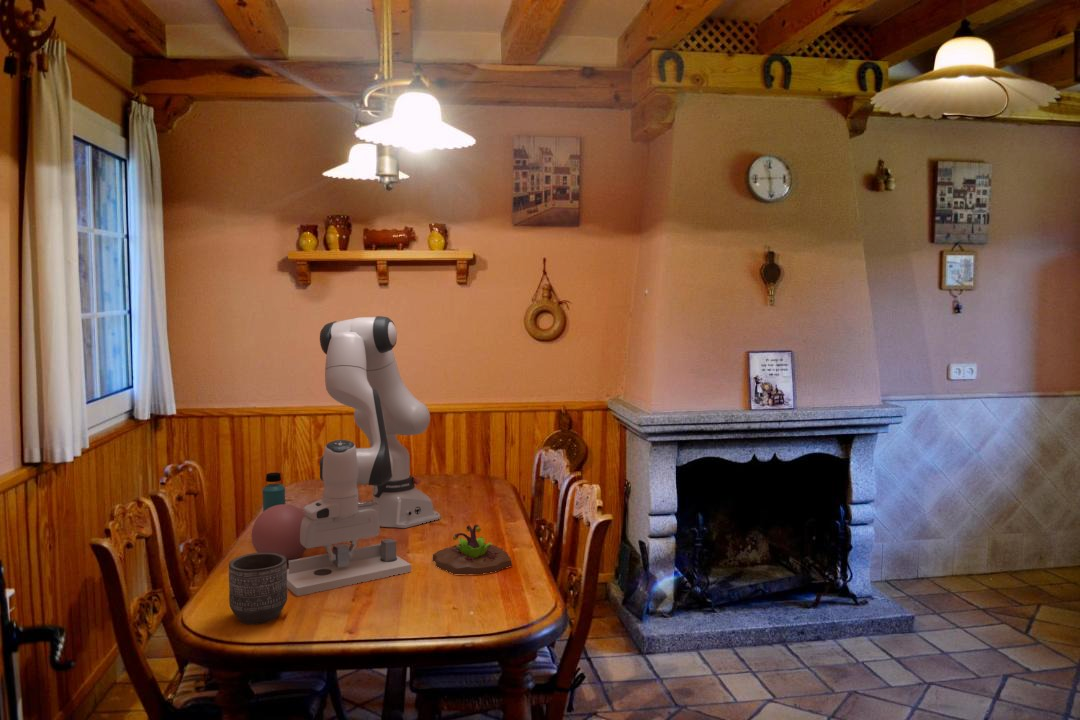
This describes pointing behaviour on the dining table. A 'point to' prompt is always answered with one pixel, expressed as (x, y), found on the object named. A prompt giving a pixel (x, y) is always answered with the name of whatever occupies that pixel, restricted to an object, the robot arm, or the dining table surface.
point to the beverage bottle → (273, 491)
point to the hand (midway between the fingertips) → (341, 558)
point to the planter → (258, 587)
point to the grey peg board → (345, 569)
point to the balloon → (279, 531)
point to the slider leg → (341, 555)
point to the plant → (472, 555)
